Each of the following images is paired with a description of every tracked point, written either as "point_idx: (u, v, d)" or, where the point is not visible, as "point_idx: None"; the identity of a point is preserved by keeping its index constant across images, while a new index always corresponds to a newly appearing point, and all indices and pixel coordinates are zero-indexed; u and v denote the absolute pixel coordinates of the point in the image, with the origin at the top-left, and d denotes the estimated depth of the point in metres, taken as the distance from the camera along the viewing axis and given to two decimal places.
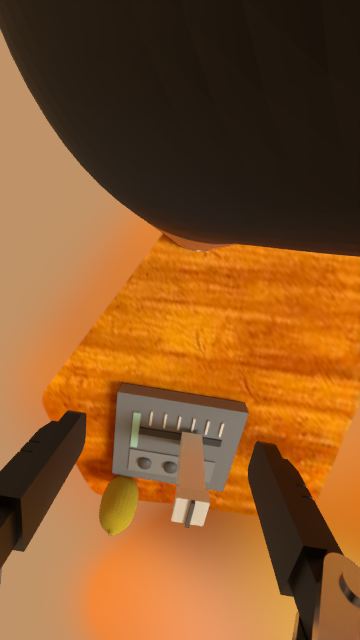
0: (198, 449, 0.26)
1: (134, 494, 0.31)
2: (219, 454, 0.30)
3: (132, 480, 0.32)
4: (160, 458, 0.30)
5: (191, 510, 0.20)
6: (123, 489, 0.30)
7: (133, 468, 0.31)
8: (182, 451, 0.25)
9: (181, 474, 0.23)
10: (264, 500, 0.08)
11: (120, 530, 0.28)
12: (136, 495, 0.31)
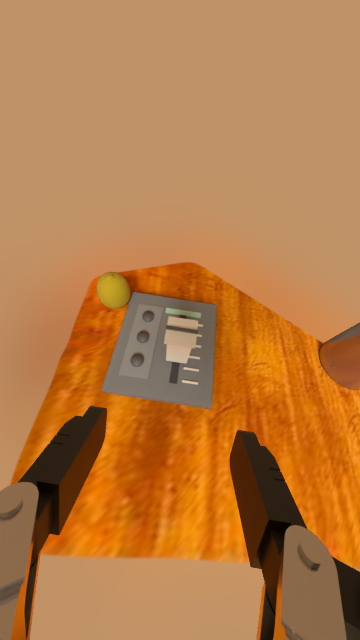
0: None
1: (120, 302, 0.34)
2: (157, 383, 0.30)
3: (124, 305, 0.36)
4: (152, 329, 0.34)
5: (189, 330, 0.24)
6: (129, 295, 0.35)
7: (140, 307, 0.36)
8: None
9: None
10: (241, 484, 0.08)
11: (107, 283, 0.32)
12: (117, 304, 0.34)
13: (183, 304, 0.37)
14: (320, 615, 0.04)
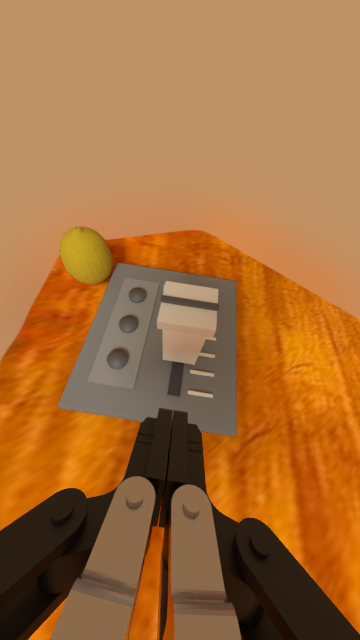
0: None
1: (97, 273, 0.23)
2: (148, 395, 0.19)
3: (104, 279, 0.25)
4: (144, 313, 0.23)
5: (203, 303, 0.13)
6: (109, 263, 0.24)
7: (126, 283, 0.25)
8: None
9: None
10: None
11: (73, 240, 0.21)
12: (92, 276, 0.23)
13: (188, 279, 0.26)
14: (201, 556, 0.05)
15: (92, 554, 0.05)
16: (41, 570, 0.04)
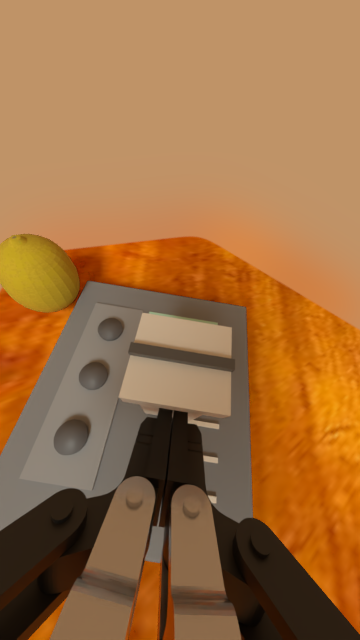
0: None
1: (53, 300, 0.16)
2: None
3: (68, 304, 0.18)
4: (118, 357, 0.16)
5: (206, 359, 0.07)
6: (73, 284, 0.17)
7: (97, 311, 0.18)
8: None
9: None
10: None
11: (10, 255, 0.14)
12: (47, 303, 0.16)
13: (183, 305, 0.19)
14: (201, 555, 0.05)
15: (92, 554, 0.05)
16: (41, 570, 0.04)
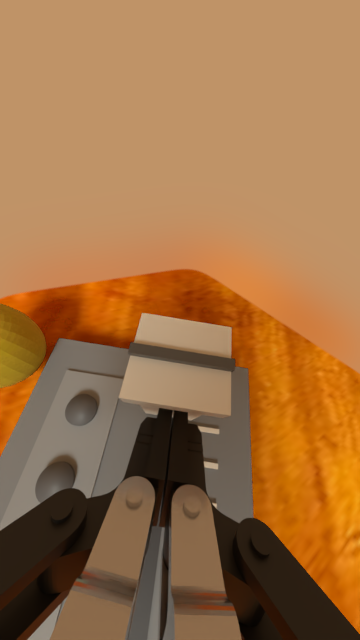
0: None
1: (7, 379, 0.13)
2: None
3: (31, 374, 0.15)
4: (89, 450, 0.13)
5: (206, 359, 0.07)
6: (33, 354, 0.14)
7: (67, 382, 0.15)
8: None
9: None
10: (167, 457, 0.09)
11: None
12: (0, 384, 0.13)
13: None
14: (202, 555, 0.05)
15: (92, 554, 0.05)
16: (41, 570, 0.04)
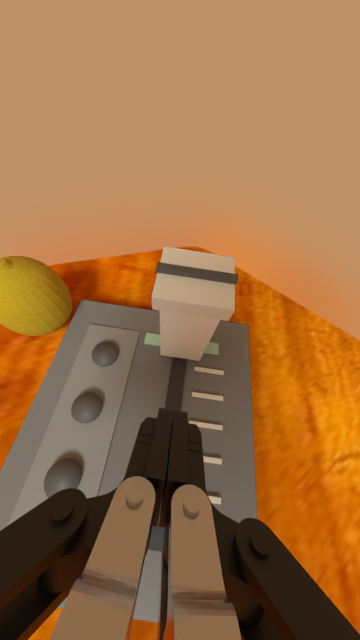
0: None
1: (45, 324, 0.15)
2: None
3: (61, 326, 0.17)
4: (113, 385, 0.15)
5: (215, 273, 0.10)
6: (65, 305, 0.16)
7: (91, 333, 0.17)
8: None
9: None
10: None
11: None
12: (38, 328, 0.15)
13: None
14: (201, 556, 0.05)
15: (92, 554, 0.05)
16: (41, 570, 0.04)
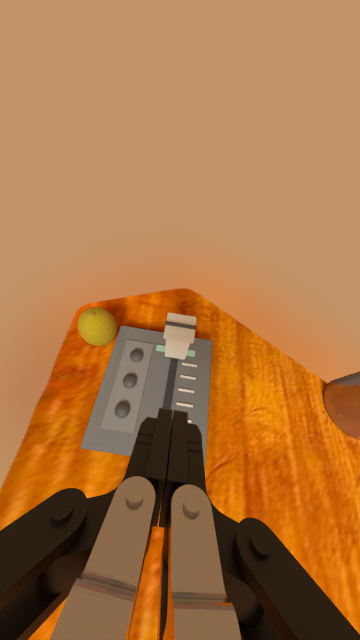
0: None
1: (106, 340, 0.31)
2: None
3: (111, 340, 0.33)
4: (141, 371, 0.31)
5: (187, 325, 0.25)
6: (115, 330, 0.32)
7: (128, 344, 0.33)
8: None
9: None
10: None
11: (89, 322, 0.28)
12: (103, 342, 0.31)
13: None
14: (201, 555, 0.05)
15: (92, 554, 0.05)
16: (41, 570, 0.04)
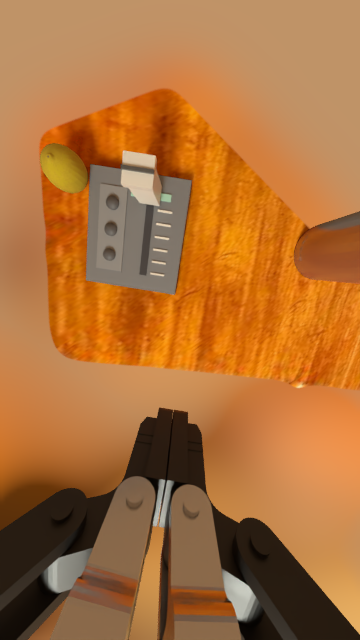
0: (157, 197, 0.29)
1: (79, 187, 0.30)
2: (129, 275, 0.35)
3: None
4: (119, 219, 0.33)
5: (144, 169, 0.23)
6: (84, 173, 0.30)
7: (102, 189, 0.32)
8: (159, 179, 0.28)
9: (155, 170, 0.26)
10: None
11: (52, 168, 0.27)
12: (77, 189, 0.31)
13: None
14: (201, 556, 0.05)
15: (92, 554, 0.05)
16: (41, 570, 0.04)
